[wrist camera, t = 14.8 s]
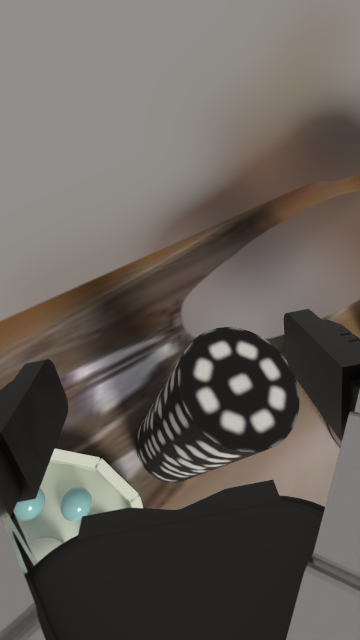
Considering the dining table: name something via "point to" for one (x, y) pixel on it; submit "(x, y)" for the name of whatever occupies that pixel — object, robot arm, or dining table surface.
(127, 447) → the dining table surface
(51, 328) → the dining table surface
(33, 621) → the robot arm
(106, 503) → the tray
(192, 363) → the white-spotted black cylinder
